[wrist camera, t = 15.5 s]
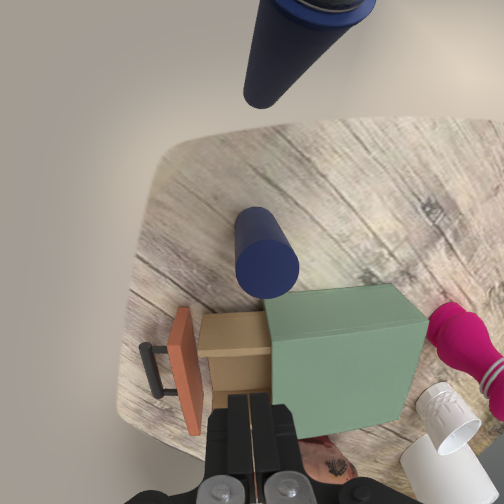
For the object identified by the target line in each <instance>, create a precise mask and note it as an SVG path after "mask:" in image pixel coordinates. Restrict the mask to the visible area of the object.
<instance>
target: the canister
mask: <svg viewBox="0 0 504 504" xmlns="http://www.w3.org/2000/svg"><path fill="white" fill-rule="evenodd" d="M400 463H401V465H402V467H403V469H404V471H405V474H406V476H407V478H408V480H409V482H410V485H411V487H412V489H413V491H414V494H415V496H416V498H417V500H418V501H419V502H421V503H423V504H491V503H493V502H494V501H495V500H496V499H497V498H498V496H499V494H498V492H497V490H496V488H495V487H494V485H493V484H492V482H491V480H490V478H489V477H488V475H487V473H486V472H485V470H484V469H483V467H482V465H481V464H480V462H479V461H478V459H477V457H476V456H475V454H474V453H473V451H472V450H471V448H470V446H469V445H468V443H466V444H465V445H463V446H462V447H460V448H459V449H457V450H456V451H454V452H452V453H450V454H447V455H438V453H437V451H436V449H435V447H434V445H433V443H432V441H431V439H430V437H429V436H428V434H427V433H426V434H424V435H423V436H421V437H420V438H419V439H417V440H416V441H415V442H414V443H412V444H411V445H410V446H409V447H408V448H407V449H406V450H405V452H404V453H403V454H402V456H401V459H400Z"/></svg>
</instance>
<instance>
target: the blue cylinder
mask: <svg viewBox="0 0 504 504" xmlns="http://www.w3.org/2000/svg"><path fill="white" fill-rule="evenodd" d="M235 272H236V278H237V281H238V283H239V285H240V286H241V288H242V289H243V290H244V291H245V292H246V293H248V294H249V295H251V296H253V297H256V298H260V299H273V298H277V297H279V296H281V295H283V294H285V293H286V292H288V291H289V290H290V289H291V288H292V287H293V285H294V284H295V282H296V280H297V278H298V275H299V261H298V258H297V256H296V254H295V252H294V251H293V249H292V247H291V245H290V244H289V242H288V240H287V238H286V237H285V235H284V233H283V231H282V230H281V228H280V226H279V225H278V223H277V221H276V219H275V218H274V216H273V215H272V214H271V212H269V211H268V210H266V209H264V208H262V207H250V208H247V209H245V210H244V211H242V212H241V213H240V214H239V216H238V217H237V219H236V222H235Z"/></svg>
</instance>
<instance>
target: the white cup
mask: <svg viewBox="0 0 504 504" xmlns="http://www.w3.org/2000/svg"><path fill="white" fill-rule="evenodd" d="M416 411H417V412H418V414H419V416H420V418H421V420H422V423H423V425H424V427H425V430H426V432H427V434H428V436H429V437H430V439H431V441H432V443H433V445H434V447H435V449H436V451H437V453H438V455H447V454H450V453H452V452H454V451H456V450H457V449H459V448H460V447H462V446H463V445H465V444H466V443H467V442H468V441H469V440H470V439H471V438H472V437H473V436H474V435H475V434H476V432H477V431H478V430H479V428H480V425H481V420H480V419H479V417H478V416H477V415H476V414H475V413H474V411H473V410H472V409H471V408H470V407H469V406H468V404H467V403H466V402H465V401H464V400H463V399H462V398H461V397H460V396H459V395H458V393H456V392H455V391H454V390H453V389H452V388H451V386H450V385H449V384H448V383H446V382H440V383H437V384H434V385H432V386H431V387H429V388H428V389H426V390H425V391H424V392H423V393H422V395H421V396H420V397H419V399H418V400H417V402H416Z"/></svg>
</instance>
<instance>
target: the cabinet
mask: <svg viewBox="0 0 504 504" xmlns="http://www.w3.org/2000/svg"><path fill="white" fill-rule="evenodd" d="M263 311H265V314H266V319H267V325H268V330H269V335H270V340H271V405H276V404H285V405H286V406H287V408H288V409H289V410H290V411H291V412H292V415H293V420H294V425H295V429H296V435H297V438H298V439H303V438H310V437H317V436H324V435H330V434H335V433H341V432H346V431H351V430H356V429H361V428H366V427H370V426H374V425H379V424H383V423H387V422H391V421H394V420H398V419H399V416H400V413H401V411H402V408H403V406H404V403H405V400H406V397H407V395H408V392H409V389H410V386H411V383H412V380H413V377H414V374H415V371H416V368H417V365H418V361H419V358H420V355H421V351H422V348H423V344H424V340H425V337H426V333H427V329H428V325H429V320H428V319H427V318H426V317H425V316H424V315H423V314H422V313H421V312H420V311H419V310H418V309H417V308H416V307H415V306H414V305H413V304H412V303H411V302H410V301H409V300H408V299H407V298H406V297H405V296H404V295H403V294H402V293H401V292H400V291H399V290H398V289H397V288H396V287H395V286H394V285H393V284H391V283H390V284H380V285H370V286H360V287H349V288H338V289H326V290H314V291H301V292H287V293H285V294H283V295H281V296H279V297H277V298H273V299H263Z"/></svg>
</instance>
